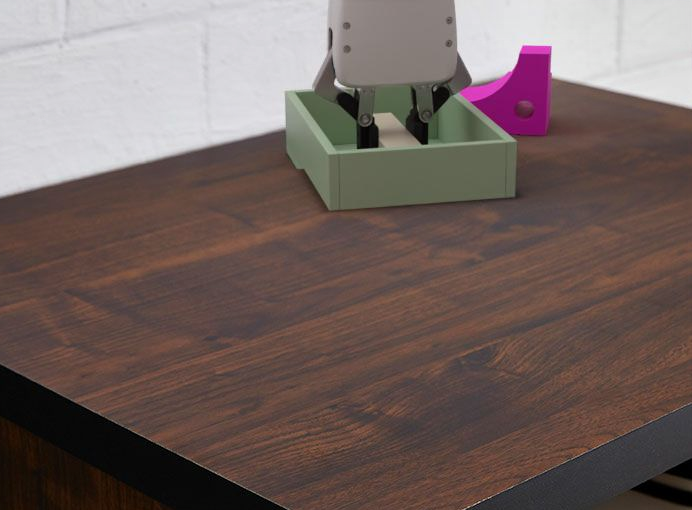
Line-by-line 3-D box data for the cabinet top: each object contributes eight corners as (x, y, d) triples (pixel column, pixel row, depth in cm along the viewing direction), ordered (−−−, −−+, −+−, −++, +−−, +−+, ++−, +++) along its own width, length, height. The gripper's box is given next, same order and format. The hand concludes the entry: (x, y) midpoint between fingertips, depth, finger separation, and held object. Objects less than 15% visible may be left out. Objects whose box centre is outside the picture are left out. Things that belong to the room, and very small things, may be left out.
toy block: (549, 119, 134) (553, 40, 131) (545, 135, 128) (549, 54, 125) (396, 114, 137) (396, 37, 134) (385, 130, 131) (385, 50, 128)
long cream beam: (358, 148, 122) (357, 114, 120) (391, 145, 122) (391, 112, 121) (393, 193, 109) (393, 156, 108) (430, 190, 110) (430, 153, 108)
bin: (443, 141, 127) (444, 80, 125) (514, 211, 107) (517, 141, 105) (286, 152, 125) (284, 90, 122) (329, 225, 105) (328, 154, 103)
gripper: (480, -71, 113) (474, 150, 120) (281, -62, 110) (288, 162, 118) (507, -60, 106) (499, 173, 114) (296, -50, 103) (303, 187, 111)
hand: (392, 165), depth 116 cm, fingers closed on long cream beam, 3 cm apart
